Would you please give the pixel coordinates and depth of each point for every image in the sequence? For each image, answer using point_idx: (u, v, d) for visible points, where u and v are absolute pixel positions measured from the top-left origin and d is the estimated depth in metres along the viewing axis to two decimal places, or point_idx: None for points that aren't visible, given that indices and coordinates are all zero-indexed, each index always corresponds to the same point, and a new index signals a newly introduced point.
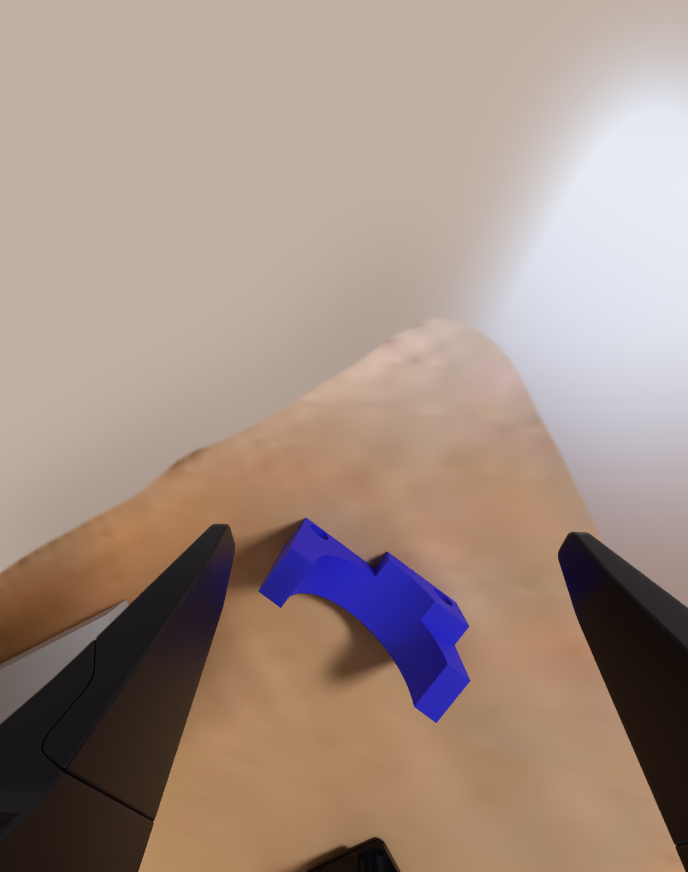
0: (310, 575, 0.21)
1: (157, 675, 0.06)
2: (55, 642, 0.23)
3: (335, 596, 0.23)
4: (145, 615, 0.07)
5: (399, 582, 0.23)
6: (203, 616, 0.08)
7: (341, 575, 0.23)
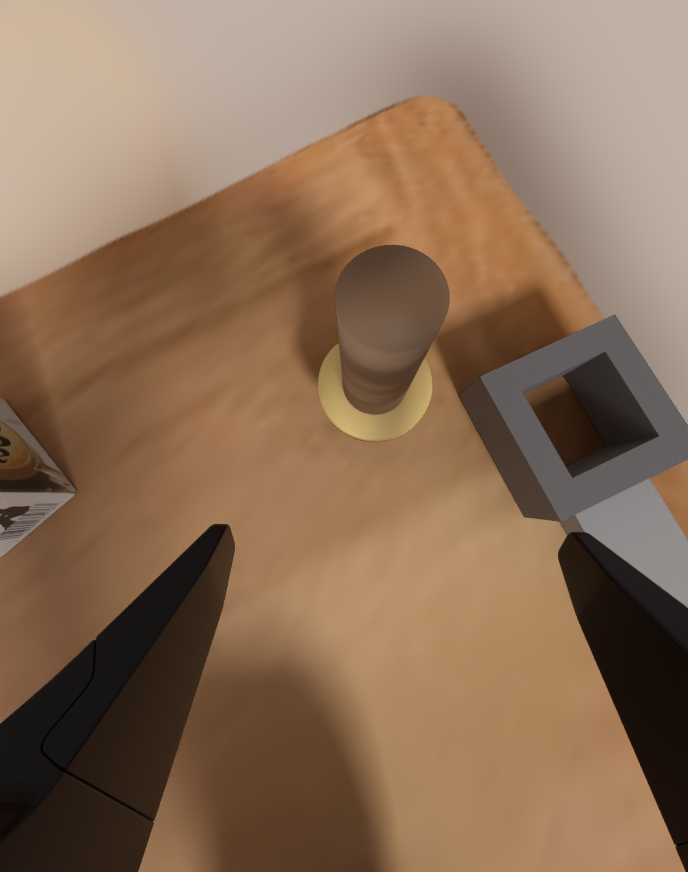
0: None
1: (157, 675, 0.06)
2: None
3: None
4: (145, 615, 0.07)
5: None
6: (203, 616, 0.08)
7: None
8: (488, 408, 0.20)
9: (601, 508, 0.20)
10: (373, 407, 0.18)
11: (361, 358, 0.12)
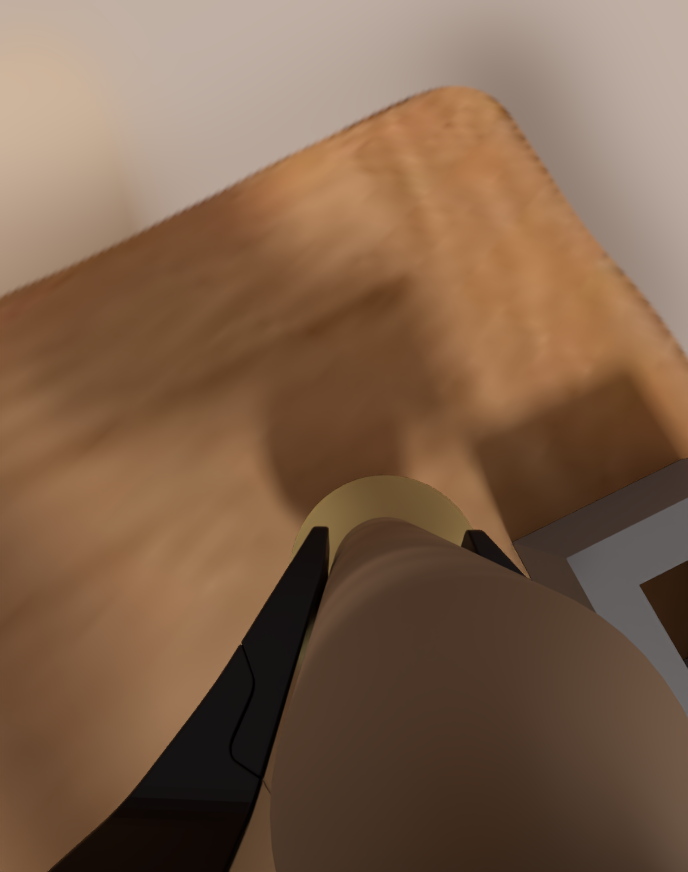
0: None
1: None
2: None
3: None
4: (283, 619, 0.07)
5: None
6: None
7: None
8: None
9: None
10: None
11: None
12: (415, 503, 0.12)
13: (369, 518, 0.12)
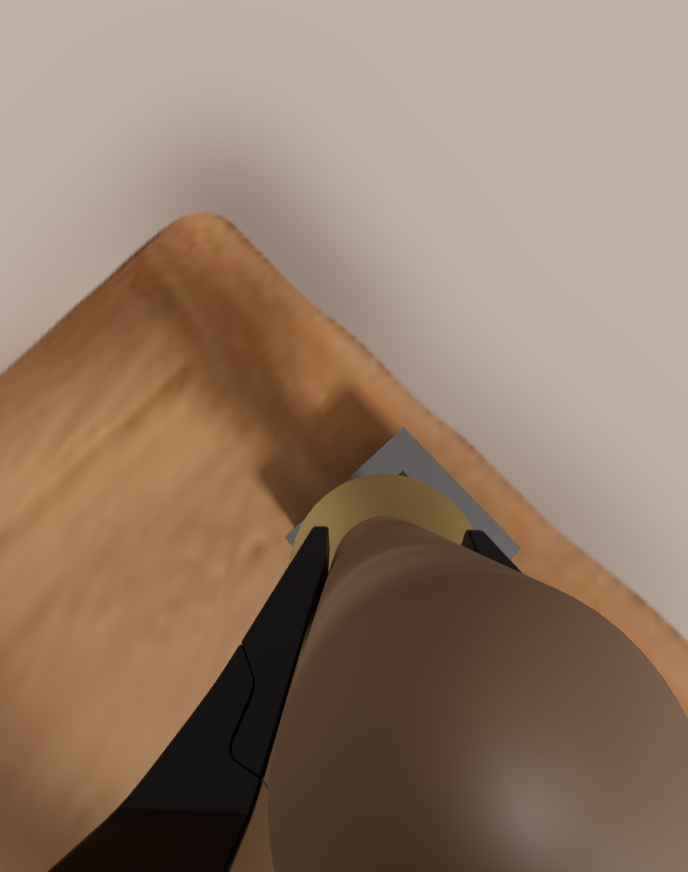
0: None
1: None
2: None
3: None
4: (283, 619, 0.07)
5: None
6: None
7: None
8: None
9: None
10: None
11: None
12: (415, 502, 0.12)
13: (369, 517, 0.12)
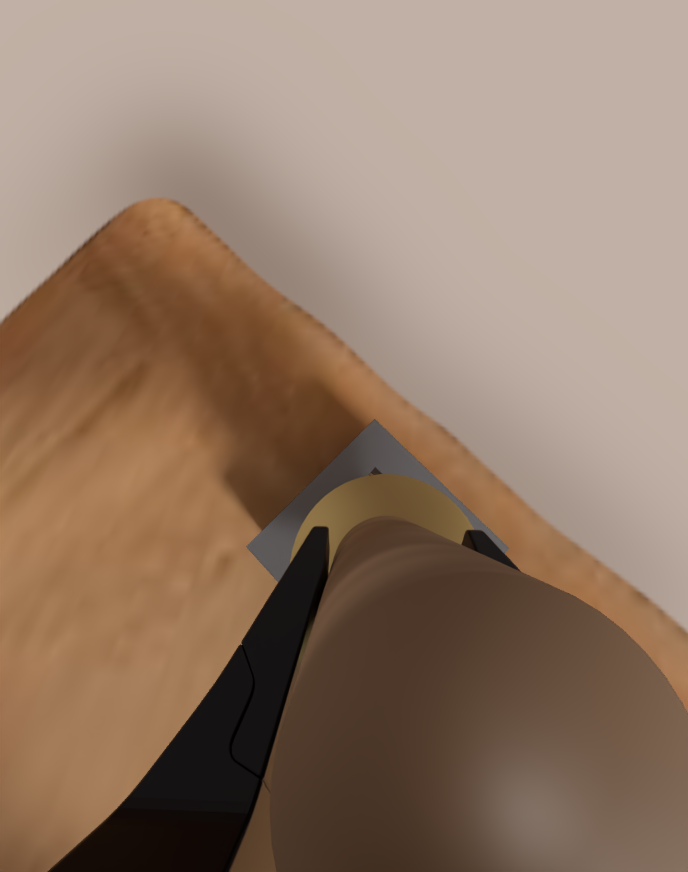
0: None
1: None
2: None
3: None
4: (283, 619, 0.07)
5: None
6: None
7: None
8: None
9: None
10: None
11: None
12: (415, 502, 0.12)
13: (369, 517, 0.12)
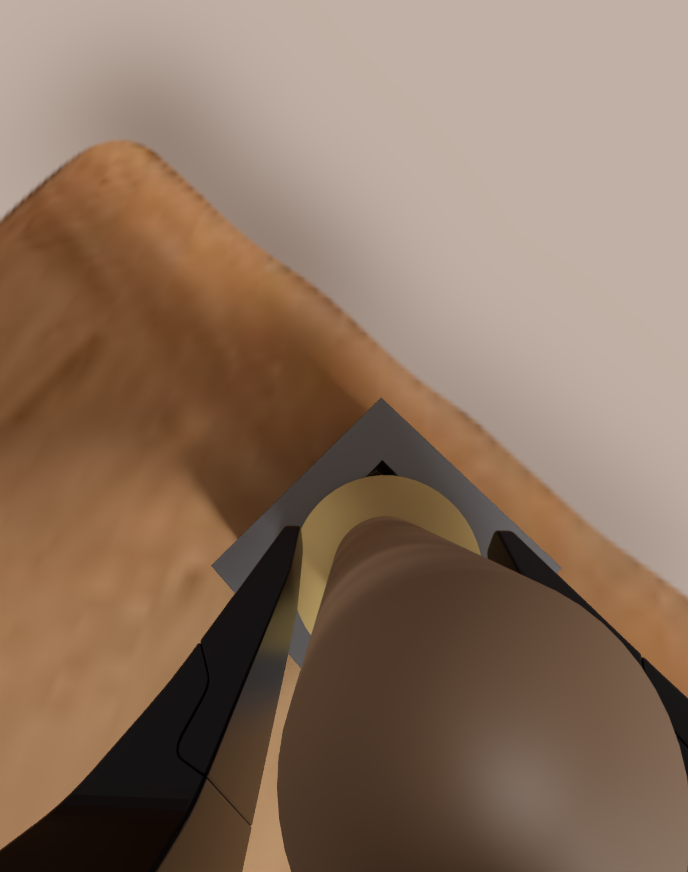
0: None
1: (260, 679, 0.06)
2: None
3: None
4: (244, 618, 0.07)
5: None
6: (287, 619, 0.08)
7: None
8: None
9: None
10: None
11: None
12: (414, 503, 0.12)
13: (369, 517, 0.12)
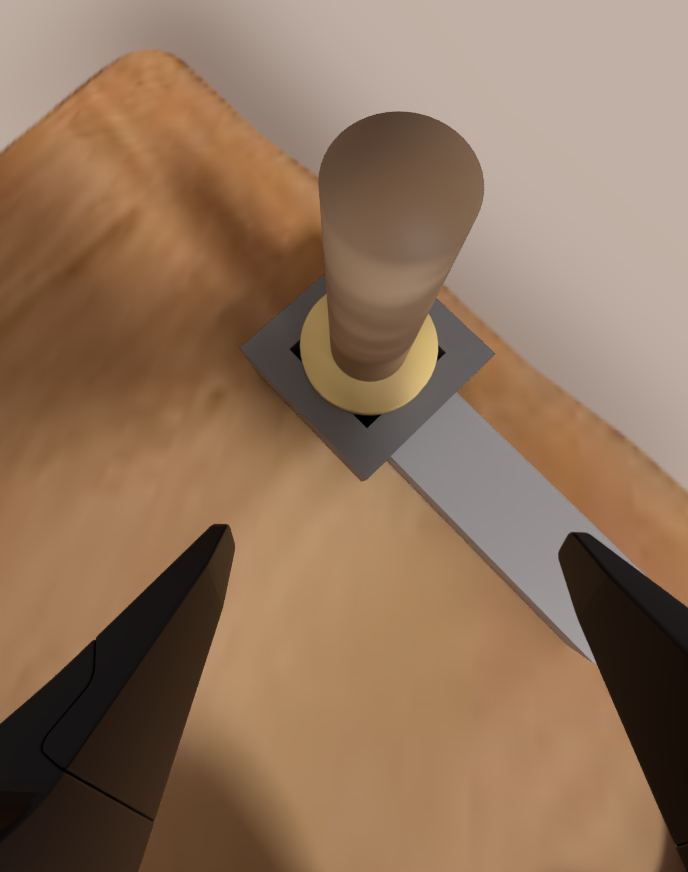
0: None
1: (157, 675, 0.06)
2: (595, 528, 0.18)
3: None
4: (145, 615, 0.07)
5: None
6: (203, 616, 0.08)
7: None
8: (268, 379, 0.18)
9: (423, 447, 0.18)
10: (367, 370, 0.14)
11: (355, 282, 0.09)
12: None
13: None
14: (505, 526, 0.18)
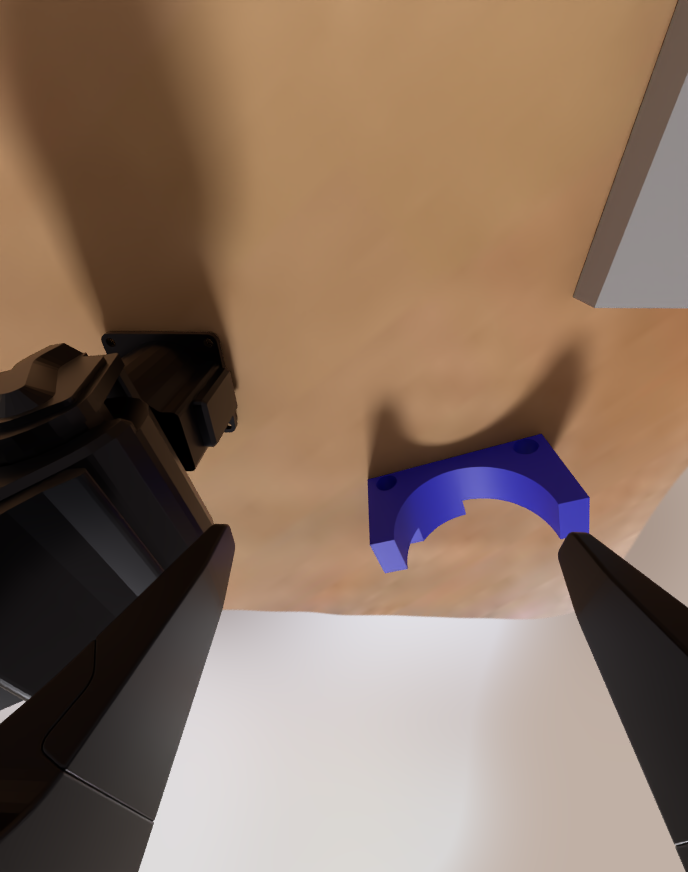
0: (530, 494, 0.21)
1: (157, 675, 0.06)
2: None
3: (476, 471, 0.23)
4: (145, 615, 0.07)
5: (445, 514, 0.25)
6: (203, 616, 0.08)
7: (490, 487, 0.23)
8: None
9: None
10: None
11: None
12: None
13: None
14: None
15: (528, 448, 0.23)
